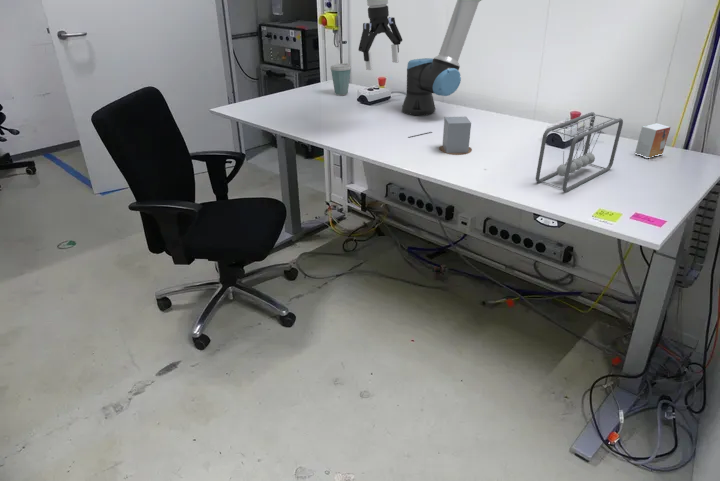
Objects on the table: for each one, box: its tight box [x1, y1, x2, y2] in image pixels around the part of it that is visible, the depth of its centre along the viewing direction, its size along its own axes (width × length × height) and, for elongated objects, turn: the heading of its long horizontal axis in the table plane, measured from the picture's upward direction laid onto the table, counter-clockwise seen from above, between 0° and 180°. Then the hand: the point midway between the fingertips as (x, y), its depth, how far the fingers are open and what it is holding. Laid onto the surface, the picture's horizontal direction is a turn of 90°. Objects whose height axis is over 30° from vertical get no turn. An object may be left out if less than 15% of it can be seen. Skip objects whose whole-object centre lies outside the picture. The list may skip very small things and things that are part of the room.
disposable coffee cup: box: [330, 62, 352, 96], centre depth 259 cm, size 11×11×15 cm
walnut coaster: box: [438, 145, 473, 156], centre depth 188 cm, size 12×12×1 cm
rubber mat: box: [407, 131, 433, 139], centre depth 199 cm, size 12×12×1 cm
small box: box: [634, 122, 672, 157], centre depth 179 cm, size 8×6×10 cm
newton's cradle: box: [535, 111, 624, 193], centre depth 162 cm, size 30×10×18 cm, turn 130°
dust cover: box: [441, 116, 472, 154], centre depth 185 cm, size 8×8×11 cm
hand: (382, 66), depth 195 cm, fingers open, 13 cm apart
